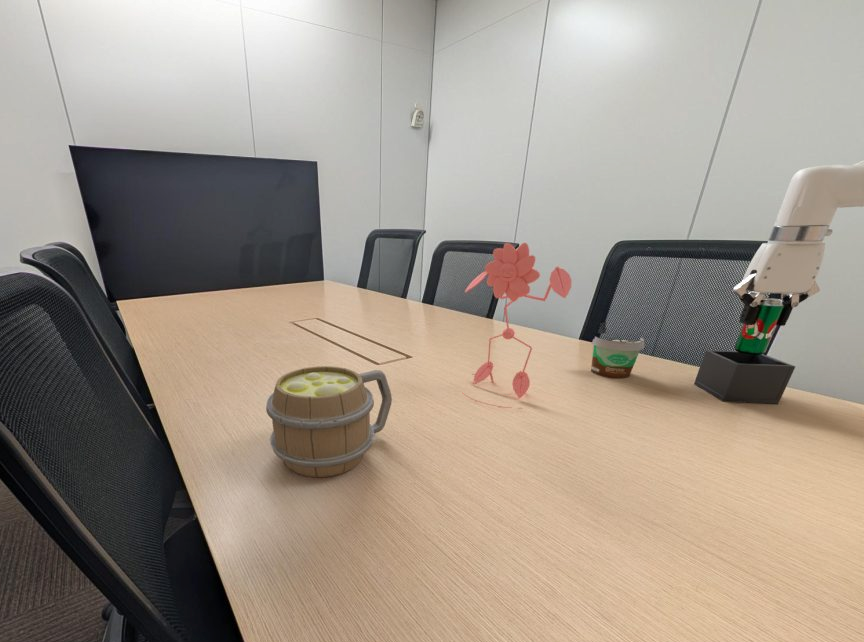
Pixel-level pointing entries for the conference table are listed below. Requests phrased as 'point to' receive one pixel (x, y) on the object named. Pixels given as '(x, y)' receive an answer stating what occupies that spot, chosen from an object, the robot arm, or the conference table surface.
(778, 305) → the soda can
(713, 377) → the trash bin
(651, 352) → the conference table surface
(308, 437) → the mug
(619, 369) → the food container
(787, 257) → the robot arm
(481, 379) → the figurine
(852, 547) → the conference table surface
